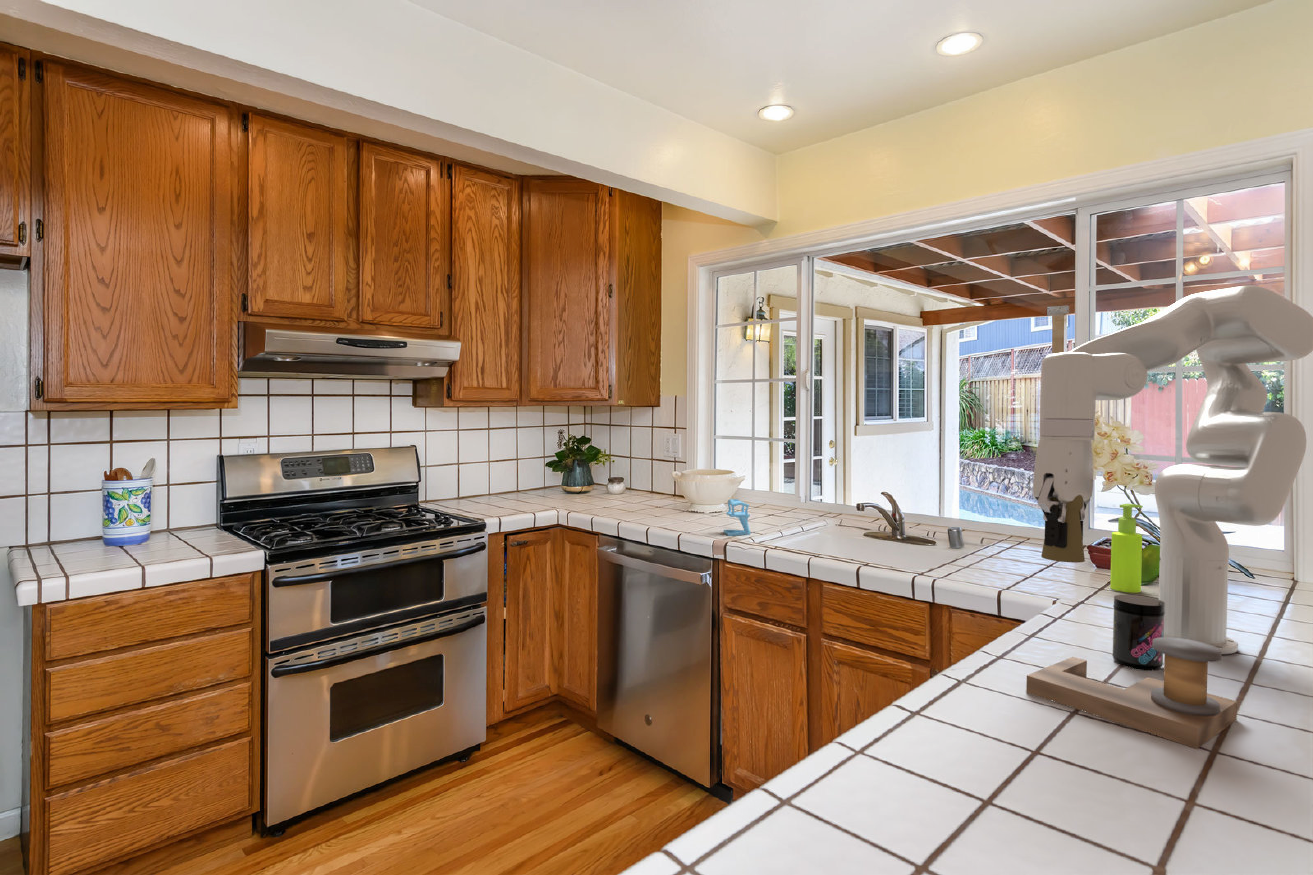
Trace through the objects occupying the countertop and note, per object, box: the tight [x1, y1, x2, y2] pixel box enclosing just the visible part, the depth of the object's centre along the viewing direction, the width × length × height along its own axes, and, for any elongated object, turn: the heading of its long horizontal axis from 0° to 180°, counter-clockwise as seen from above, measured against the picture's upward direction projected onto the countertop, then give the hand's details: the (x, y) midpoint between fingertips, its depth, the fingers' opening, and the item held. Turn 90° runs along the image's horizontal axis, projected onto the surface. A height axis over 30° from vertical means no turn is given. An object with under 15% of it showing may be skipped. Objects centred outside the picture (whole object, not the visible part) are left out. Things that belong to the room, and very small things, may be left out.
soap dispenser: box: [1109, 503, 1143, 594], centre depth 158 cm, size 6×7×20 cm
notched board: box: [1025, 637, 1238, 750], centre depth 93 cm, size 14×20×10 cm
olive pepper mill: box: [1040, 495, 1086, 564], centre depth 108 cm, size 6×6×11 cm
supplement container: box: [1112, 594, 1165, 671], centre depth 109 cm, size 7×7×10 cm
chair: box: [723, 498, 751, 537], centre depth 232 cm, size 8×8×12 cm
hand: (1063, 544), depth 108 cm, fingers closed on olive pepper mill, 4 cm apart
